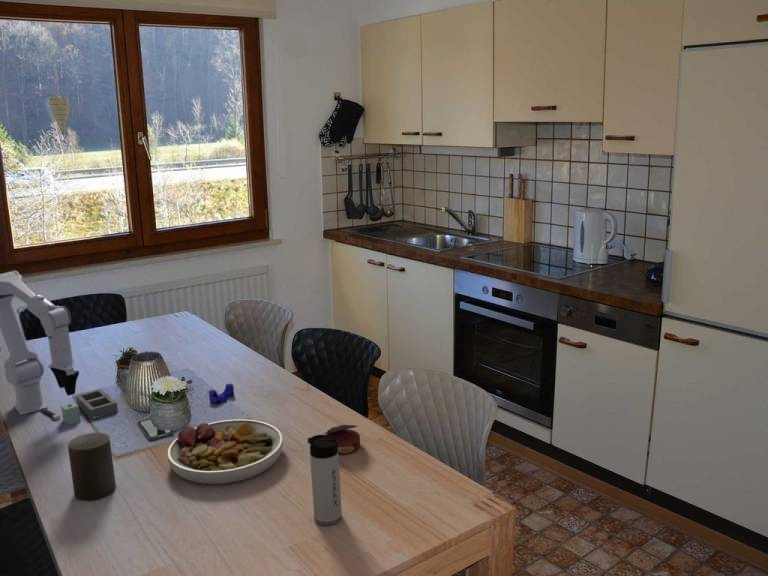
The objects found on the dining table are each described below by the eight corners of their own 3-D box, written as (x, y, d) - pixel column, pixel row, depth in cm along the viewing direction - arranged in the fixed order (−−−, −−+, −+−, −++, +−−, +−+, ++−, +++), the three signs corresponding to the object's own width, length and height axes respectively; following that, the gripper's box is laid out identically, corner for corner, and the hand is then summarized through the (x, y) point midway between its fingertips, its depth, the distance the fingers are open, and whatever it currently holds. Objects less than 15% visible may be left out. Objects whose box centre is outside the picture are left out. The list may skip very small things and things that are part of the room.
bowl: (302, 442, 202) (300, 416, 200) (249, 498, 175) (246, 468, 173) (209, 429, 212) (206, 405, 210) (145, 480, 184) (141, 452, 182)
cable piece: (41, 412, 227) (40, 408, 227) (45, 410, 228) (44, 407, 228) (55, 420, 221) (55, 416, 221) (60, 418, 222) (59, 415, 222)
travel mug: (312, 511, 167) (307, 433, 162) (341, 509, 168) (337, 431, 162) (312, 527, 161) (307, 446, 156) (342, 525, 162) (337, 443, 156)
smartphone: (160, 415, 221) (175, 432, 208) (161, 418, 221) (175, 435, 209) (136, 421, 217) (149, 439, 205) (136, 424, 217) (149, 442, 205)
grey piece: (76, 404, 232) (75, 395, 231) (102, 397, 237) (100, 388, 236) (92, 419, 221) (90, 409, 220) (118, 411, 226) (116, 402, 225)
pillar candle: (91, 505, 173) (83, 448, 169) (66, 494, 178) (58, 439, 174) (124, 487, 181) (118, 432, 177) (99, 477, 186) (92, 423, 182)
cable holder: (216, 405, 228) (215, 393, 227) (209, 402, 230) (208, 391, 229) (237, 397, 234) (236, 385, 233) (230, 394, 236) (229, 383, 235)
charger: (63, 420, 220) (60, 405, 219) (76, 417, 223) (74, 401, 221) (67, 425, 217) (64, 409, 216) (80, 421, 220) (78, 405, 218)
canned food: (327, 468, 196) (308, 438, 195) (341, 448, 205) (323, 419, 203) (360, 457, 191) (340, 426, 189) (373, 436, 200) (355, 406, 198)
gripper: (39, 345, 217) (46, 387, 221) (53, 357, 206) (60, 401, 210) (64, 340, 221) (70, 381, 225) (78, 351, 210) (85, 394, 214)
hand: (67, 390), depth 217 cm, fingers open, 7 cm apart
